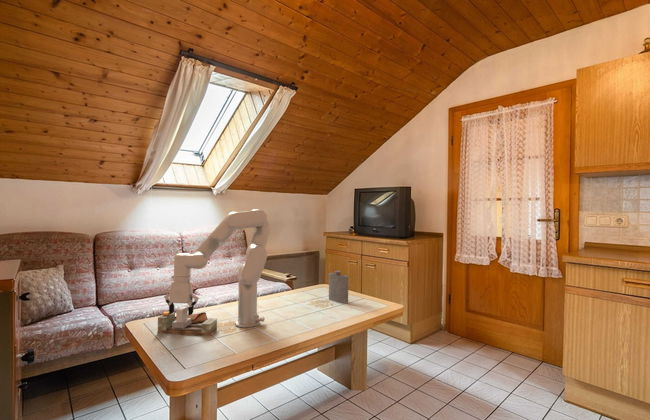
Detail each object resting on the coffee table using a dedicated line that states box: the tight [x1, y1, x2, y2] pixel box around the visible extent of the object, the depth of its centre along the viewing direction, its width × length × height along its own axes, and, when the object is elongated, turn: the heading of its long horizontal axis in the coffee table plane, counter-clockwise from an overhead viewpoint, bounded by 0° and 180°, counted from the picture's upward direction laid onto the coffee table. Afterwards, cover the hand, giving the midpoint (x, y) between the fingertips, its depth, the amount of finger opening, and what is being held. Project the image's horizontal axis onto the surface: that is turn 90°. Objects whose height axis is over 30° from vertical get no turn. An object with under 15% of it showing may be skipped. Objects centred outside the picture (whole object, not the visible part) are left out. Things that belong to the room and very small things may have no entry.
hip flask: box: [328, 270, 349, 305], centre depth 218 cm, size 16×4×20 cm, turn 46°
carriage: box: [172, 305, 191, 328], centre depth 163 cm, size 6×7×8 cm
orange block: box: [162, 311, 169, 316], centre depth 164 cm, size 3×3×5 cm
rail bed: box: [157, 312, 218, 337], centre depth 163 cm, size 26×8×8 cm, turn 84°
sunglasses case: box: [175, 311, 209, 325], centre depth 175 cm, size 18×7×7 cm
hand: (181, 313), depth 163 cm, fingers open, 9 cm apart
